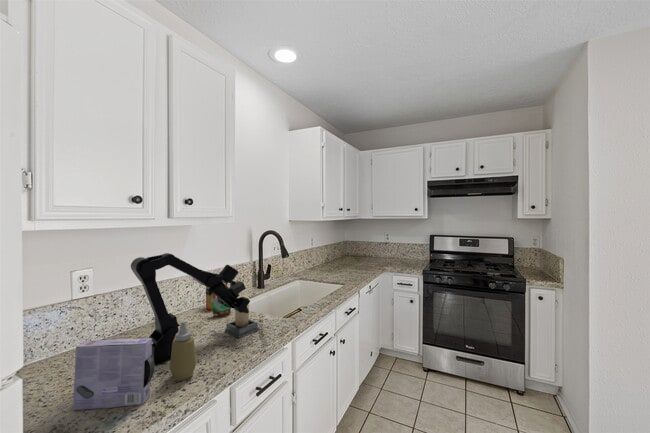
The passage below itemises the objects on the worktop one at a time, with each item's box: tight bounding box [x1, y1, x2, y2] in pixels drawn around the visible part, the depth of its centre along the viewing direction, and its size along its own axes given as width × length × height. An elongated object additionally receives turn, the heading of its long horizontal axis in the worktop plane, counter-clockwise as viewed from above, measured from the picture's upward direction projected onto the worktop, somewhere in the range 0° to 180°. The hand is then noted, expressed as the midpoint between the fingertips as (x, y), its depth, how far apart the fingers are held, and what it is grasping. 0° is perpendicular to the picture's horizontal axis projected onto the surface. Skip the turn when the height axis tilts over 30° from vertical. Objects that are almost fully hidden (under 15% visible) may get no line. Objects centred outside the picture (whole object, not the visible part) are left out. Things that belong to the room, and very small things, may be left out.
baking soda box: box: [205, 282, 228, 312], centre depth 161 cm, size 10×6×16 cm
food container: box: [211, 298, 232, 318], centre depth 149 cm, size 12×6×10 cm, turn 143°
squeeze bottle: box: [169, 321, 197, 381], centre depth 93 cm, size 8×8×18 cm
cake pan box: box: [72, 337, 156, 412], centre depth 80 cm, size 19×5×18 cm, turn 99°
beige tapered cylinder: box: [234, 295, 250, 328], centre depth 129 cm, size 6×6×13 cm
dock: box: [224, 318, 260, 339], centre depth 130 cm, size 11×11×4 cm
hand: (244, 310), depth 130 cm, fingers closed on beige tapered cylinder, 6 cm apart
